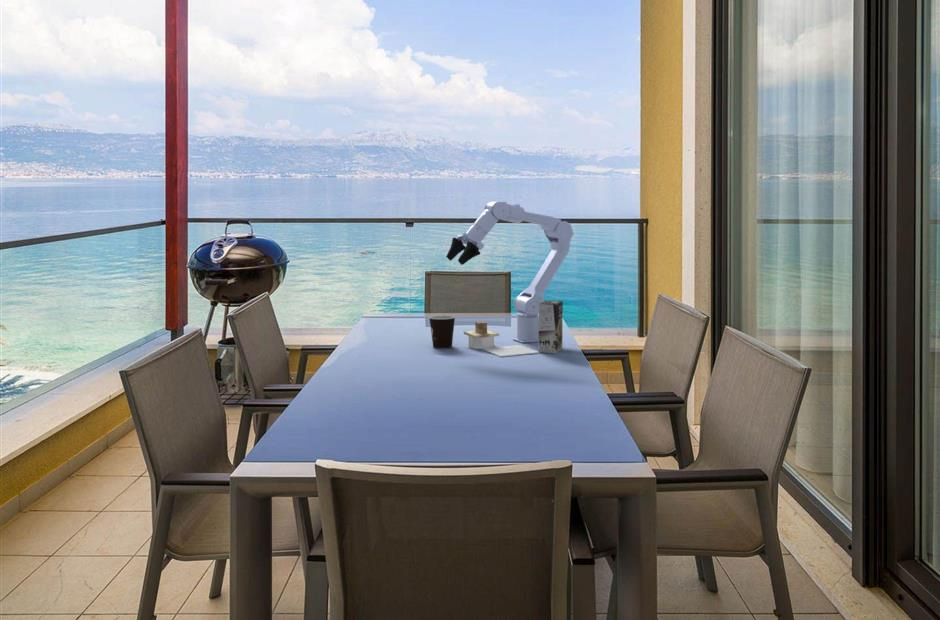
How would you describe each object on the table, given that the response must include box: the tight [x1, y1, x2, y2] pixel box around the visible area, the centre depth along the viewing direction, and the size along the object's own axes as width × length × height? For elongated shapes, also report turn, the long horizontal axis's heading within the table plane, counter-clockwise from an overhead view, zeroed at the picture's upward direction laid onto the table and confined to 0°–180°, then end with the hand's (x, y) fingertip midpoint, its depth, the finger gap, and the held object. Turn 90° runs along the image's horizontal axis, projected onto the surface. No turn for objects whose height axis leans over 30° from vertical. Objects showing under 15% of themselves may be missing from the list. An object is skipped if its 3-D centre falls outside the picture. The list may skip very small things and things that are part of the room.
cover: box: [463, 320, 500, 338], centre depth 287 cm, size 9×9×4 cm
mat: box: [481, 344, 540, 358], centre depth 279 cm, size 14×14×1 cm
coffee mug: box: [428, 314, 456, 349], centre depth 289 cm, size 12×9×10 cm
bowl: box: [468, 336, 495, 350], centre depth 287 cm, size 8×8×4 cm
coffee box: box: [537, 300, 564, 354], centre depth 279 cm, size 9×6×16 cm
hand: (454, 260), depth 282 cm, fingers open, 7 cm apart
